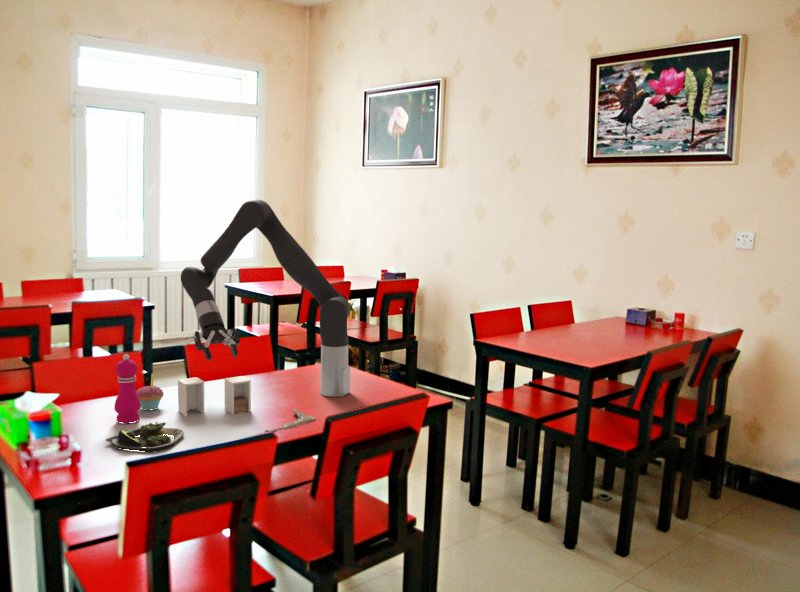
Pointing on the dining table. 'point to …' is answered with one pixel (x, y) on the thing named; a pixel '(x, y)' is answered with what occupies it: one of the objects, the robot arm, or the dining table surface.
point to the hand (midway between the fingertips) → (223, 357)
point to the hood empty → (190, 395)
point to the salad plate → (146, 438)
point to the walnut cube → (239, 404)
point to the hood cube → (237, 392)
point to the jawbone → (301, 421)
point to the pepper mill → (127, 391)
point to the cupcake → (150, 396)
